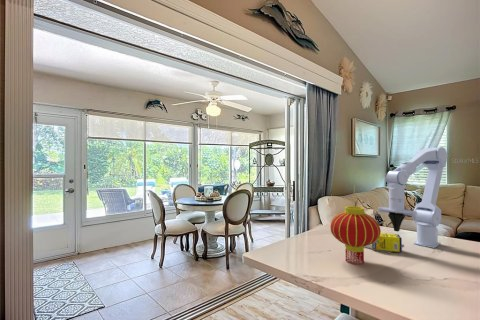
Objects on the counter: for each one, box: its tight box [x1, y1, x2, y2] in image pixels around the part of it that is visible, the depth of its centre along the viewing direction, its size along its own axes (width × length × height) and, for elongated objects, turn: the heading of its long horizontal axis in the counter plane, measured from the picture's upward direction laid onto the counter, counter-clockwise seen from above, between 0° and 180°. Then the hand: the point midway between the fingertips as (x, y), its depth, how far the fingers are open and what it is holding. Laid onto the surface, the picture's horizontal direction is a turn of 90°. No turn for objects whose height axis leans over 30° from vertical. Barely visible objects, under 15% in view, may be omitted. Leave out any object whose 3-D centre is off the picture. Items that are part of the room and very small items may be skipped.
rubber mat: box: [364, 244, 405, 255], centre depth 118 cm, size 16×15×1 cm
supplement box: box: [371, 232, 403, 253], centre depth 112 cm, size 6×6×11 cm
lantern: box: [329, 186, 382, 266], centre depth 99 cm, size 17×17×30 cm
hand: (396, 230), depth 112 cm, fingers closed
